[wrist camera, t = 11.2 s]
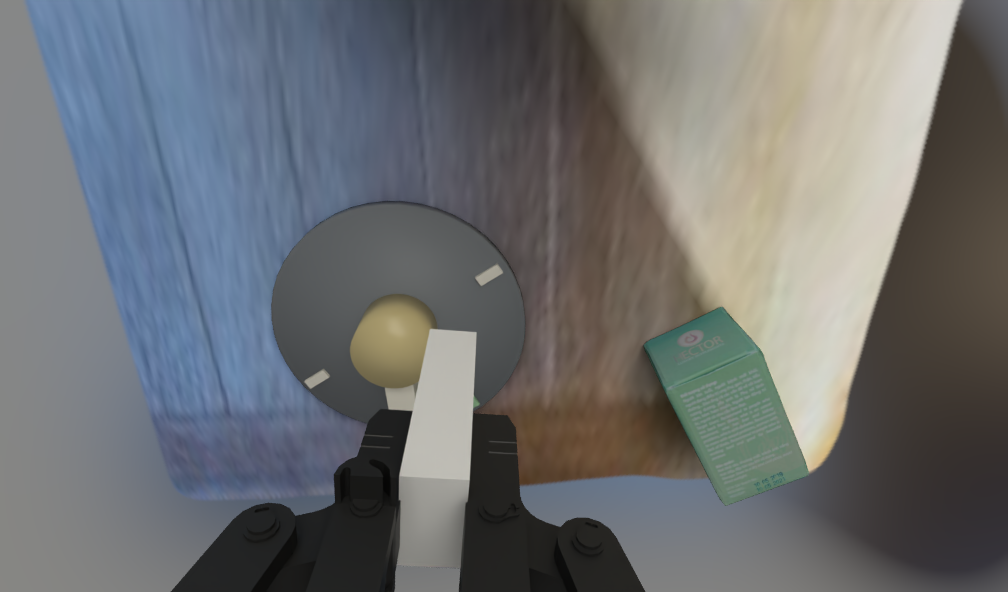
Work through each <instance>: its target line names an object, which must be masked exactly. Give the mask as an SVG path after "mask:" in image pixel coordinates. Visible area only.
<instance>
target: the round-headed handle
mask: <svg viewBox="0 0 1008 592" xmlns="http://www.w3.org/2000/svg"><path fill="white" fill-rule="evenodd" d="M430 329H438V326H437V321H436V318H435V316H434V314H433V312H432V311H431V310H430V308H429V307H428V306H427V305H426V304H424V303H423V302H422V301H420V300H419V299H417V298H415V297H412V296H409V295H405V294H390V295H386V296H383V297H380V298H378V299H377V300H375V301H374V302H372V303H371V304H370V305H369V306H368V308H367V309H366V311H365V313H364V315H363V317H362V319H361V321H360V323H359V326H358V328H357V330H356V332H355V334H354V336H353V339H352V341H351V346H350V355H351V360H352V362H353V365H354V367H355V368H356V370H357V371H358V372H359V373H360V374H361V375H362V376H363V377H364V378H365V379H366V380H368V381H369V382H371V383H373V384H375V385H378V386H381V387H385V392H386V397H387V403H388V408H389V409H391V410H407V411H413V408H414V403H415V398H416V393H417V389H418V384H419V379H420V374H421V370H422V365H423V360H424V355H425V351H426V346H427V341H428V336H429V331H430Z"/></svg>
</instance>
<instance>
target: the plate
mask: <svg viewBox="0 0 1008 592" xmlns="http://www.w3.org/2000/svg"><path fill="white" fill-rule="evenodd" d="M390 294H405V295H409V296H412V297H415V298H417V299H419V300H420V301H422V302H423V303H424V304H426V305H427V306H428V307H429V308H430V310H431V311H432V312H433V314H434V316H435V318H436V321H437V326H438V329H439V330H453V331H467V332H477V334H476V355H475V377H474V398H473V411H475V410H477V409H478V408H480V407H481V406H483V405H484V404H485V403H487V402H488V401H489V400H490V399H491V398H493V397H494V396H495V395H496V394H497V393H498V392H499V390H500V389H501V388H502V387H503V386H504V385H505V383H506V382H507V380H508V379H509V378H510V376H511V375H512V373H513V371H514V369H515V367H516V365H517V363H518V360H519V357H520V354H521V352H522V348H523V342H524V337H525V314H524V305H523V299H522V295H521V291H520V287H519V284H518V282H517V280H516V277H515V275H514V272H513V271H512V269H511V267H510V266H509V264H508V262H507V260H506V259H505V257H504V256H503V255H502V254H501V252H500V251H499V250H498V249H497V247H496V246H495V245H494V244H493V243H492V242H491V241H490V240H489V239H488V238H487V237H486V236H485V235H484V234H482V233H481V232H480V231H478V230H477V229H476V228H474V227H473V226H472V225H470V224H469V223H467V222H465V221H464V220H462V219H460V218H458V217H456V216H455V215H452V214H450V213H448V212H445V211H443V210H440V209H438V208H434V207H430V206H427V205H423V204H418V203H411V202H404V201H382V202H374V203H367V204H363V205H359V206H355V207H351V208H348V209H346V210H343V211H341V212H339V213H336V214H334V215H332V216H331V217H329V218H327V219H325V220H324V221H322V222H320V223H319V224H318V225H317V226H315V227H314V228H313V229H312V230H310V231H309V232H308V233H307V234H306V235H305V236H304V237H303V238H302V239H301V240H300V242H299V243H298V244H297V245H296V246H295V247H294V248H293V249H292V251H291V252H290V254H289V255H288V256H287V258H286V259H285V261H284V263H283V265H282V267H281V269H280V271H279V273H278V275H277V279H276V282H275V286H274V289H273V296H272V304H271V311H272V324H273V330H274V335H275V338H276V341H277V344H278V347H279V349H280V352H281V354H282V356H283V358H284V360H285V362H286V363H287V365H288V366H289V368H290V369H291V371H292V372H293V374H294V375H295V376H296V378H297V379H298V380H299V381H300V382H301V383H302V385H303V386H304V387H305V388H306V389H307V390H309V391H310V392H311V393H312V394H313V395H314V396H315V397H316V398H318V399H319V400H321V401H322V402H323V403H325V404H326V405H327V406H329V407H331V408H333V409H334V410H336V411H338V412H340V413H341V414H344V415H346V416H348V417H350V418H353V419H355V420H358V421H361V422H364V423H368V422H369V420H370V419H371V418H372V417H373V416H374V415H375V414H376V413H377V412H378V411H379V410H380V409H389V408H388V403H387V397H386V392H385V387H381V386H378V385H375V384H373V383H371V382H369V381H368V380H366V379H365V378H364V377H363V376H362V375H361V374H360V373H359V372H358V371H357V370H356V368H355V367H354V365H353V362H352V360H351V355H350V346H351V341H352V339H353V336H354V334H355V332H356V330H357V328H358V326H359V323H360V321H361V319H362V317H363V315H364V313H365V311H366V309H367V308H368V306H369V305H370V304H371V303H372V302H374V301H375V300H377V299H378V298H380V297H383V296H386V295H390Z"/></svg>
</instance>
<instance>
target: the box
mask: <svg viewBox="0 0 1008 592" xmlns="http://www.w3.org/2000/svg"><path fill="white" fill-rule="evenodd" d="M643 346H644V348H645V351H646V353H647V355H648V357H649V359H650V362H651V364H652V366H653V368H654V370H655V372H656V374H657V376H658V379H659V381H660V383H661V385H662V387H663V389H664V391H665V393H666V395H667V397H668V399H669V401H670V403H671V405H672V407H673V409H674V411H675V413H676V415H677V417H678V419H679V421H680V423H681V425H682V426H683V428H684V430H685V432H686V434H687V436H688V438H689V440H690V442H691V444H692V446H693V448H694V450H695V452H696V454H697V456H698V458H699V460H700V462H701V464H702V466H703V468H704V470H705V472H706V474H707V476H708V477H709V479H710V481H711V483H712V485H713V487H714V489H715V491H716V493H717V495H718V497H719V498H720V500H721V501H722V502H723V503H724V505H725V506H727V505H730V504H732V503H735V502H738V501H741V500H743V499H746V498H749V497H752V496H754V495H757V494H760V493H763V492H765V491H768V490H771V489H773V488H776V487H779V486H782V485H785V484H787V483H790V482H793V481H796V480H798V479H801V478H804V477H806V476H808V475H809V471H808V468H807V465H806V462H805V459H804V457H803V454H802V452H801V449H800V447H799V445H798V442H797V440H796V437H795V435H794V432H793V430H792V427H791V425H790V422H789V420H788V417H787V415H786V413H785V410H784V407H783V405H782V402H781V400H780V397H779V395H778V392H777V390H776V387H775V385H774V382H773V380H772V377H771V375H770V372H769V370H768V367H767V364H766V362H765V359H764V355H763V353H762V351H761V350H760V349H759V348H758V346H757V345H756V344H755V343H754V341H753V340H752V339H751V338H750V337H749V336H748V335H747V334H746V333H745V331H744V330H743V329H742V328H741V327H740V326H739V325H738V324H737V323H736V322H735V321H734V320H733V318H732V317H731V316H730V315H729V314H728V313H727V311H726V310H725V309H724V308H723V307H720V308H718V309H716V310H714V311H711V312H709V313H707V314H705V315H703V316H701V317H699V318H697V319H695V320H693V321H691V322H689V323H686V324H684V325H682V326H680V327H678V328H676V329H674V330H671V331H669V332H667V333H665V334H663V335H660V336H658V337H656V338H653V339H651V340H649V341H648V342H646V343H645V344H644V345H643Z"/></svg>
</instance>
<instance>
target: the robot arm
mask: <svg viewBox="0 0 1008 592" xmlns="http://www.w3.org/2000/svg"><path fill="white" fill-rule="evenodd" d="M476 334H477V332H467V331H453V330H439V329H430V331H429V336H428V341H427V346H426V351H425V355H424V360H423V365H422V370H421V374H420V379H419V384H418V389H417V393H416V398H415V403H414V408H413V411H407V410H391V409H380V410H379V411H378V412H377V413H376V414H375V415H374V416H373V417H372V418H371V419H370V420H369V422H368V425H367V428H366V431H365V435H364V437H363V440H362V443H361V447H360V450H359V453H358V456H357V457H355V458H352V459H349V460H347V461H346V462H345V463H343V464H342V465H340V466H339V467H338V469H337V471H336V472H335V474H334V488H335V503H334V504H333V505H331V506H329V507H327V508H325V509H322V510H319V511H316V512H312V513H307V514H302V515H298V516H295V515H294V513H293V512H292V511H291V509H290V508H288V507H286V506H284V505H282V504H276V503H265V504H260V505H256V506H253V507H251V508H249V509H247V510H245V511H243V512H242V513H241V514H239V515H238V516H237V517H236V518H235V519H233V520H232V522H231V523H230V524H229V525H228V526H227V527H226V528H225V530H224V531H223V532H222V533H221V534H220V535H219V537H218V538H217V539H216V540H215V541H214V542H213V544H212V545H211V546H210V547H209V548H208V549H207V550H206V552H205V553H204V554H203V555H202V556H201V557H200V559H199V560H198V561H197V562H196V563H195V564H194V566H193V567H192V568H191V569H190V570H189V571H188V573H187V574H186V575H185V576H184V577H183V578H182V579H181V581H180V582H179V583H178V584H177V585H176V586H175V588H174V589H173V590H172V591H171V592H394V590H395V570H396V564H397V559H398V566H414V567H436V568H458V569H459V568H460V583H459V592H645V590H644V588H643V586H642V585H641V583H640V581H639V579H638V577H637V575H636V573H635V571H634V570H633V568H632V566H631V564H630V562H629V560H628V558H627V557H626V555H625V553H624V551H623V549H622V547H621V545H620V544H619V542H618V540H617V538H616V536H615V535H614V534H613V533H612V531H611V530H610V529H609V528H608V527H606V526H605V525H603V524H602V523H601V522H599V521H596V520H593V519H590V518H574V519H571V520H568V521H566V522H565V523H564V524H563V525H562V526H561V527H558V526H555V525H552V524H549V523H546V522H544V521H542V520H539V519H537V518H536V517H535V516H533V515H532V514H530V512H529V511H528V510H527V509H526V508H525V507H524V505H523V503H522V501H521V497H520V487H519V471H518V456H517V444H516V442H517V441H516V428H515V426H514V425H513V423H512V422H511V420H510V419H509V417H508V416H507V415H491V414H475V413H473V398H474V377H475V355H476Z"/></svg>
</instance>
